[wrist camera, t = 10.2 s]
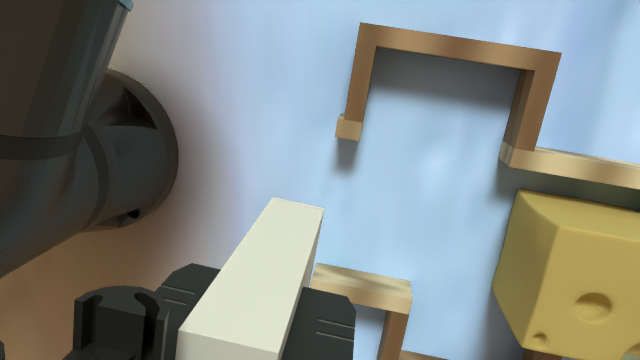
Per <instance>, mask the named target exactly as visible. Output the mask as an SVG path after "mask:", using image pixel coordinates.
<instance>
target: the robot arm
mask: <svg viewBox="0 0 640 360" xmlns="http://www.w3.org/2000/svg"><path fill="white" fill-rule="evenodd" d="M132 8H133V2H132V0H0V278H1V277H3V276H5V275H7V274H8V273H10V272H12V271H14V270H15V269H17V268H19V267H20V266H22V265H24V264H26V263H27V262H29V261H31V260H33V259H34V258H36V257H38V256H39V255H41V254H43V253H45V252H46V251H48V250H50V249H52V248H53V247H55V246H57V245H58V244H60V243H62V242H64V241H65V240H67V239H69V238H70V237H72V236H74V235H76V234H77V233H81V232H92V231H103V230H113V229H118V228H121V227H125V226H127V225H130V224H132V223H134V222H136V221H138V220H140V219H141V218H143V217H144V216H146V215H147V214H149V213H150V212H152V211H153V210H154V209H156V208H157V207H158V206H159V205H160V204H161V203H162V202H163V200H164V199H165V198H166V196H167V195H168V193H169V191H170V190H171V187H172V185H173V183H174V180H175V176H176V172H177V166H178V147H177V141H176V136H175V132H174V129H173V127H172V124H171V122H170V119H169V117H168V115H167V114H166V112H165V110H164V109H163V107H162V106H161V104H160V103H159V102H158V100H157V99H156V98H155V97H154V96H153V95H152V94H151V93H150V92H149V91H148V90H147V89H146V88H145V87H144V86H143V85H141V84H140V83H139V82H137V81H136V80H134V79H133V78H131V77H129V76H127V75H125V74H123V73H120V72H118V71H115V70H111V69H107V67H108V65H109V62H110V59H111V56H112V54H113V51H114V48H115V46H116V43H117V40H118V37H119V35H120V32H121V29H122V26H123V24H124V21H125V18H126V16H127V13H128V11H130V12H131V10H132ZM323 213H324V208H321V207H317V206H312V205H307V204H303V203H298V202H293V201H289V200H284V199H279V198H274V197H273V198H272V199H271V200H270V202H269V203H268V205H267V206H266V207H265V209H264V210H263V212H262V213H261V214H260V216H259V217H258V219H257V220H256V222H255V223H254V224H253V226H252V227H251V229H250V230H249V231H248V233H247V234H246V236H245V237H244V238H243V240H242V241H241V243H240V244H239V245H238V247H237V248H236V250H235V251H234V252H233V254H232V255H231V257H230V258H229V260H228V261H227V262H226V264H225V265H224V267H223V268H222V269H221V270H220V269H215V268H211V267H207V266H202V265H198V264H193V263H191V264H189V265H187V266H185V267H182V268H180V269H178V270H176V271H174V272H173V273H172V274H171V275H170V276H169V277H168V278H167V279H166V280H165V281H164V282H163V283H162V285H161V287H159V288H158V289H157V290H156V291H155V292H153V291H150V290H148V289H145V288H142V287H133V286H112V287H104V288H101V289H97V290H94V291H90V292H88V293H86V294H84V295H83V296H81V297H79V298H77V299H76V300H75V304H74V328H73V350H72V351H71V352H70V353H69V354H68V355H67V356H66V357H65V358H63V359H62V360H353V347H354V332H355V329H354V328H355V316H356V311H355V309H354V307H353V305H352V304H351V302H350V300H349V298H348V297H347V296H344V295H339V294H335V293H330V292H326V291H321V290H317V289H312V288H309V283H310V278H311V273H312V268H313V263H314V258H315V253H316V248H317V243H318V238H319V233H320V228H321V223H322V218H323ZM0 360H5V351H4V344H3V343H2V342H1V341H0Z"/></svg>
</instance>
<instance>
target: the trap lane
mask: <svg viewBox="0 0 640 360" xmlns="http://www.w3.org/2000/svg"><path fill="white" fill-rule="evenodd" d="M376 47H380V48H386V49H392V50H399V51H405V52H412V53H418V54H425V55H431V56H438V57H444V58H450V59H457V60H463V61H470V62H476V63H483V64H489V65H496V66H502V67H508V68H515V69H521V73H520V77H519V81H518V85H517V89H516V92H515V96H514V100H513V104H512V108H511V111H510V115H509V119H508V123H507V126H506V130H505V134H504V138H503V142H502V145H501V149H500V153H499V157H498V158H499V159H500V160H501V161H503V162H504V163H505V164H506V165H508V166H509V167H513V168H518V169H524V170H530V171H536V172H542V173H547V174H553V175H559V176H565V177H571V178H576V179H582V180H588V181H594V182H600V183H605V184H611V185H617V186H623V187H628V188H634V189H640V164H637V163H631V162H625V161H619V160H613V159H607V158H601V157H595V156H589V155H583V154H577V153H571V152H565V151H560V150H554V149H548V148H542V147H536V142H537V139H538V135H539V132H540V128H541V125H542V121H543V118H544V114H545V111H546V107H547V104H548V100H549V97H550V93H551V90H552V86H553V83H554V79H555V76H556V72H557V69H558V65H559V62H560V58H561V54H562V53H559V52H553V51H546V50H540V49H533V48H526V47H520V46H513V45H507V44H500V43H493V42H487V41H480V40H474V39H467V38H460V37H454V36H447V35H440V34H434V33H427V32H421V31H414V30H407V29H401V28H394V27H388V26H381V25H374V24H368V23H361V22H360V26H359V32H358V38H357V44H356V50H355V56H354V62H353V68H352V74H351V80H350V86H349V92H348V98H347V104H346V110H345V114H341V115H340V116H339V118H338V121H337V127H336V133H335V137H339V138H345V139H351V140H356V141H359V140H360V136H361V131H362V125H363V119H364V114H365V108H366V102H367V97H368V91H369V86H370V80H371V74H372V69H373V63H374V57H375V52H376ZM638 213H640V209H639V212H638ZM310 288H312V289H317V290H321V291H326V292H330V293H335V294H339V295H344V296H347V297H348V298H349V300H350V302H351V303H354V304H359V305H364V306H369V307H374V308H379V309H384V310H387V314H386V318H385V323H384V327H383V332H382V337H381V341H380V346H379V351H378V355H377V360H447V359H442V358H437V357H433V356H428V355H423V354H418V353H413V352H409V351H404V350H401V347H402V343H403V338H404V334H405V330H406V325H407V321H408V317H409V313H410V308H411V304H412V292H411V285H410V281H407V280H402V279H397V278H392V277H387V276H382V275H377V274H371V273H366V272H361V271H356V270H351V269H346V268H341V267H336V266H331V265H326V264H320V263H317V264H316V267H315V270H314V274H313V277H312V281H311V287H310ZM561 358H562V356H558V355H554V354H549V353H544V352H539V351H535V350H530V349H525V352H524V355H523V359H522V360H561ZM622 360H640V356H637V355H633V354H629V353H625V354H624V356H623V358H622Z"/></svg>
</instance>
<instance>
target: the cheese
mask: <svg viewBox="0 0 640 360" xmlns="http://www.w3.org/2000/svg"><path fill="white" fill-rule="evenodd" d="M492 288H493V291H494V294H495V297H496V299H497V302H498V304H499V306H500V308H501V310H502V312H503V314H504V316H505V317H506V319H507V322H508V324H509V326H510V328H511V330H512V332H513V334H514V336H515V337H516V339H517V341H518V342H519V344H520V345H521V347H523V348H526V349H530V350H535V351H539V352H544V353H549V354H554V355H558V356H562V357H568V358H573V359H579V360H622V358H623V356H624V354H625V353H629V354H633V355H637V356H640V213H638V212H636V211H633V210H631V209H627V208H622V207H617V206H612V205H607V204H603V203H598V202H593V201H587V200H582V199H576V198H570V197H564V196H558V195H552V194H545V193H540V192H535V191H529V190H524V189H518V191H517V194H516V197H515V200H514V204H513V207H512V211H511V215H510V219H509V224H508V228H507V233H506V237H505V241H504V246H503V249H502V253H501V256H500V260H499V263H498V266H497V269H496V273H495V276H494V279H493V282H492Z"/></svg>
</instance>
